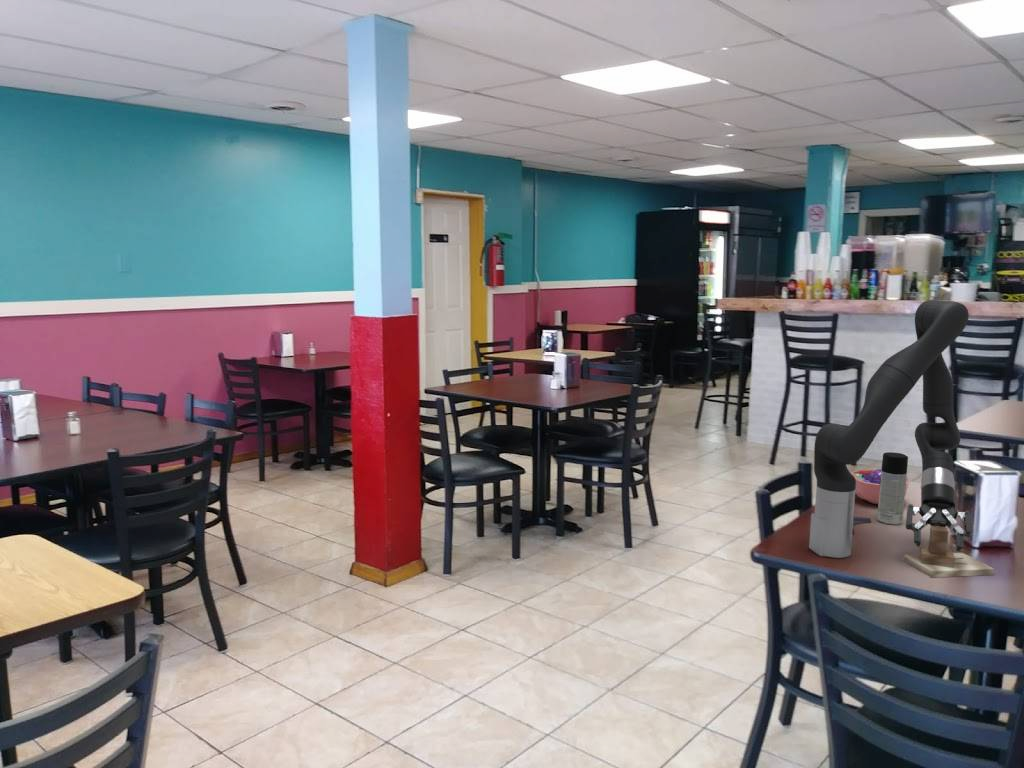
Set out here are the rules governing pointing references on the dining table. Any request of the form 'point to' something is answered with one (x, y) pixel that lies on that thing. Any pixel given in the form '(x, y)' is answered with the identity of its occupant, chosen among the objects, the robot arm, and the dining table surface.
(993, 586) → the dining table surface
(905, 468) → the spray can
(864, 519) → the bracket
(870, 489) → the cell model
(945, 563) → the brown wooden stepped block
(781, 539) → the dining table surface
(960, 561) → the board
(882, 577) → the dining table surface
